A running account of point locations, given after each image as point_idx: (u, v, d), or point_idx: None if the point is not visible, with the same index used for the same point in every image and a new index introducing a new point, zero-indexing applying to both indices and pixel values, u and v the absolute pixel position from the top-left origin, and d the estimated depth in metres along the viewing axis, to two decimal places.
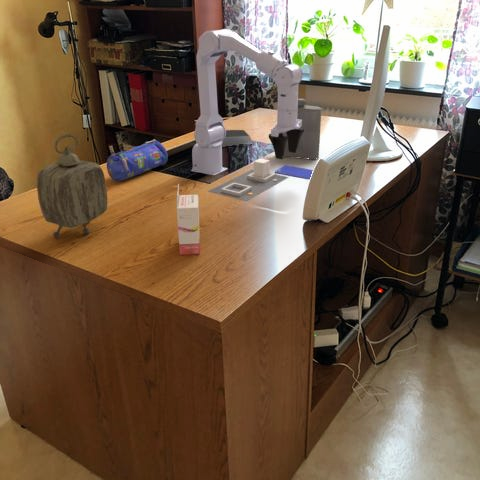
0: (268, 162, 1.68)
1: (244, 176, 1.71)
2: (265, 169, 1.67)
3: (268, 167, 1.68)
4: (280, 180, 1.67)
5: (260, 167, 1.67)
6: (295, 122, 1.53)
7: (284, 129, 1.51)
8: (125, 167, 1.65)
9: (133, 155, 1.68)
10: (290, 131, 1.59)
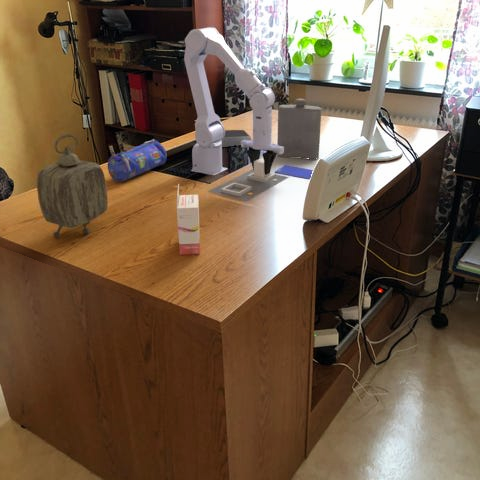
0: None
1: (244, 176, 1.71)
2: None
3: None
4: (280, 180, 1.67)
5: (260, 167, 1.67)
6: (256, 143, 1.63)
7: (247, 144, 1.66)
8: (127, 167, 1.65)
9: (134, 156, 1.68)
10: None
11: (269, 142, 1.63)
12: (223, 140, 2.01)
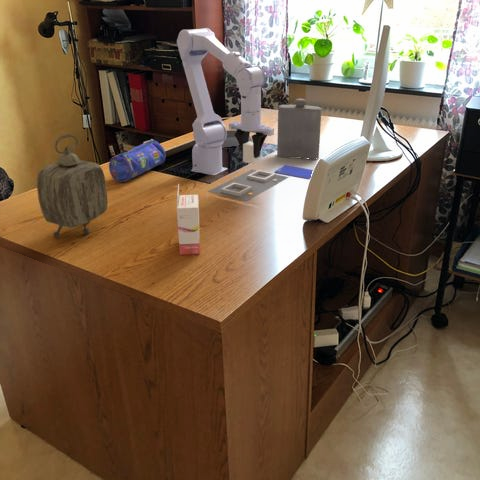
0: None
1: (244, 176, 1.71)
2: None
3: None
4: (280, 180, 1.67)
5: (249, 150, 1.59)
6: (245, 124, 1.55)
7: (235, 126, 1.58)
8: (130, 167, 1.65)
9: (136, 156, 1.68)
10: None
11: (258, 123, 1.55)
12: (223, 141, 2.00)
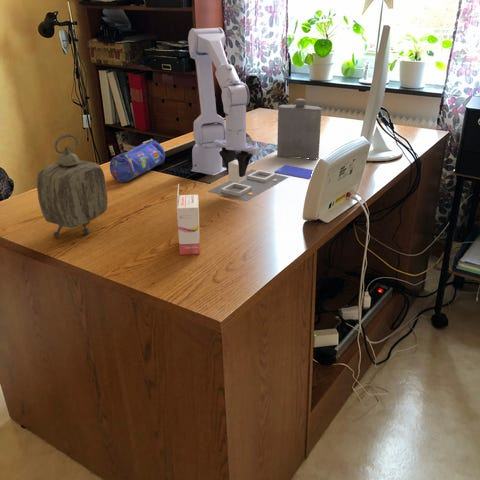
0: None
1: None
2: None
3: None
4: (280, 180, 1.67)
5: (234, 169, 1.55)
6: (230, 143, 1.51)
7: (220, 144, 1.54)
8: (131, 167, 1.65)
9: (136, 156, 1.68)
10: None
11: (243, 142, 1.51)
12: None
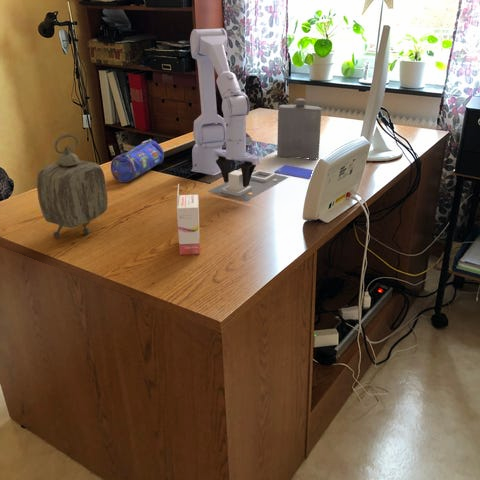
0: None
1: None
2: (240, 181, 1.57)
3: None
4: (280, 180, 1.67)
5: (235, 180, 1.56)
6: (230, 152, 1.52)
7: (220, 153, 1.56)
8: (133, 167, 1.65)
9: (137, 156, 1.68)
10: None
11: (243, 152, 1.52)
12: None
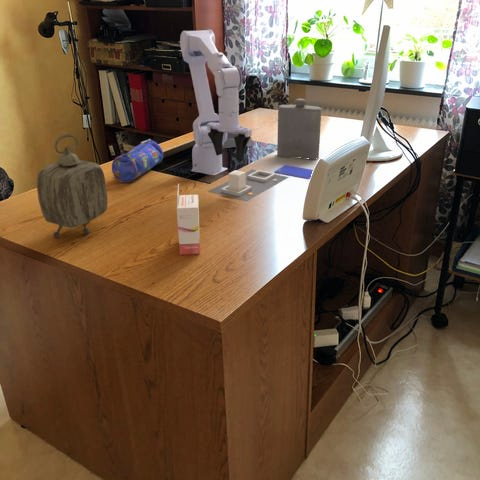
0: (244, 174, 1.57)
1: None
2: (240, 181, 1.57)
3: (244, 179, 1.58)
4: (280, 180, 1.67)
5: (235, 180, 1.56)
6: (222, 125, 1.54)
7: (213, 126, 1.57)
8: (135, 167, 1.65)
9: (138, 156, 1.68)
10: None
11: (236, 124, 1.54)
12: None
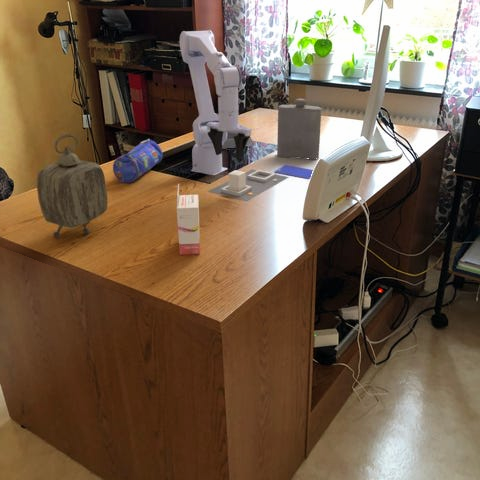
0: (244, 174, 1.57)
1: None
2: (240, 181, 1.57)
3: (244, 179, 1.58)
4: (280, 180, 1.67)
5: (235, 180, 1.56)
6: (222, 124, 1.54)
7: (213, 126, 1.58)
8: (137, 167, 1.65)
9: (139, 156, 1.68)
10: None
11: (236, 123, 1.55)
12: None
